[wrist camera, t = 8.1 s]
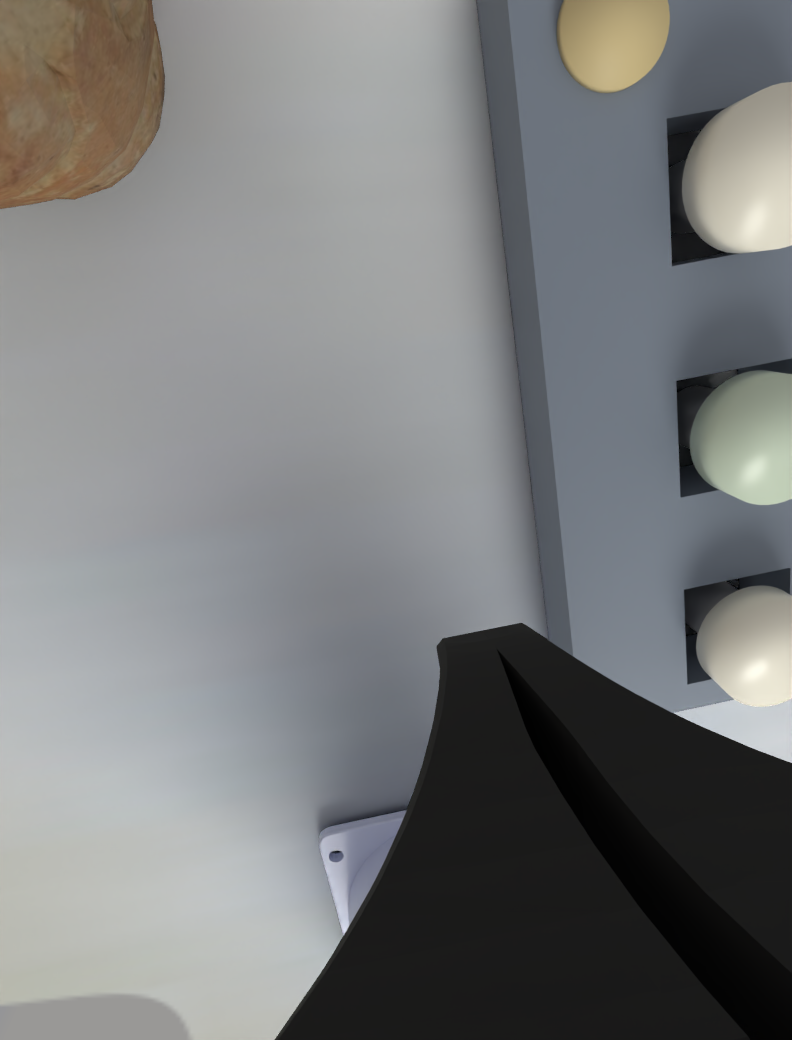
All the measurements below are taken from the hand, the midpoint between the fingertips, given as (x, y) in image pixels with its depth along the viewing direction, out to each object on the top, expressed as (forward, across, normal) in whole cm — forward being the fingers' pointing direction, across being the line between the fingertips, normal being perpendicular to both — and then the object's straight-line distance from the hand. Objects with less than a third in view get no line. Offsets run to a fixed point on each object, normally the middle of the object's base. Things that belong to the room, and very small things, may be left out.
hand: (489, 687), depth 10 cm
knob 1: (+10, -9, -7) cm, 15 cm away
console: (+10, -9, -2) cm, 14 cm away
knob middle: (+10, -9, -1) cm, 13 cm away
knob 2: (+10, -9, +5) cm, 14 cm away
